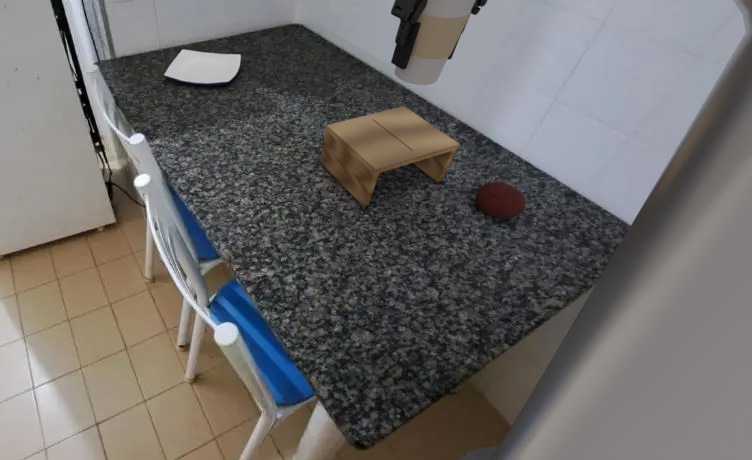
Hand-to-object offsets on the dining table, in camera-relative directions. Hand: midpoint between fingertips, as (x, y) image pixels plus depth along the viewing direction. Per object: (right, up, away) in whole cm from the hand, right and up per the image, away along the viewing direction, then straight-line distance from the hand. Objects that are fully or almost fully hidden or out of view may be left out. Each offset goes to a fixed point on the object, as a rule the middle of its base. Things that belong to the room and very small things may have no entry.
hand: (421, 60), depth 62 cm
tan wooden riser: (+1, -14, +22) cm, 26 cm away
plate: (-39, +20, +54) cm, 70 cm away
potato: (+20, -23, +14) cm, 34 cm away
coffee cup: (0, -2, +2) cm, 3 cm away
